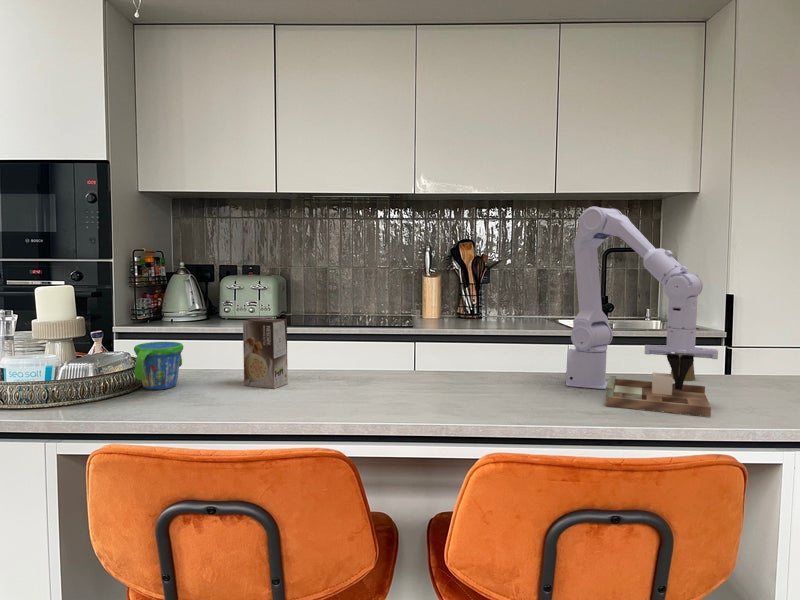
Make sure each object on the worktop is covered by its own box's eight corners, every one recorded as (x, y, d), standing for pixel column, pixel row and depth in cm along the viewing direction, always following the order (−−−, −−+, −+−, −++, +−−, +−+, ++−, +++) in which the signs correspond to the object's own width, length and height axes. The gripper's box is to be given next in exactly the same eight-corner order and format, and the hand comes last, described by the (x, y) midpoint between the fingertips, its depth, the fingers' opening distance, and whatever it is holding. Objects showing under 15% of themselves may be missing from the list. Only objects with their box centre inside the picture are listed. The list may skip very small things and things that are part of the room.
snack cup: (155, 396, 131) (154, 351, 130) (116, 392, 134) (115, 348, 133) (199, 382, 146) (198, 341, 145) (163, 378, 149) (163, 339, 148)
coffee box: (289, 383, 145) (289, 319, 144) (274, 389, 139) (274, 321, 138) (258, 380, 148) (257, 317, 147) (242, 385, 142) (241, 319, 141)
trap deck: (606, 406, 127) (606, 387, 126) (609, 392, 140) (610, 375, 139) (710, 417, 119) (711, 397, 119) (703, 401, 132) (704, 383, 132)
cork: (697, 381, 154) (700, 339, 153) (673, 380, 155) (675, 338, 154) (691, 376, 159) (693, 336, 159) (667, 375, 161) (669, 335, 160)
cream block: (652, 393, 130) (652, 375, 130) (651, 389, 134) (652, 372, 134) (671, 395, 129) (672, 377, 129) (671, 391, 133) (671, 373, 132)
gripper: (645, 327, 128) (643, 389, 129) (721, 331, 123) (717, 395, 124) (645, 324, 135) (643, 382, 136) (717, 328, 129) (713, 388, 130)
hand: (678, 388), depth 130 cm, fingers closed
